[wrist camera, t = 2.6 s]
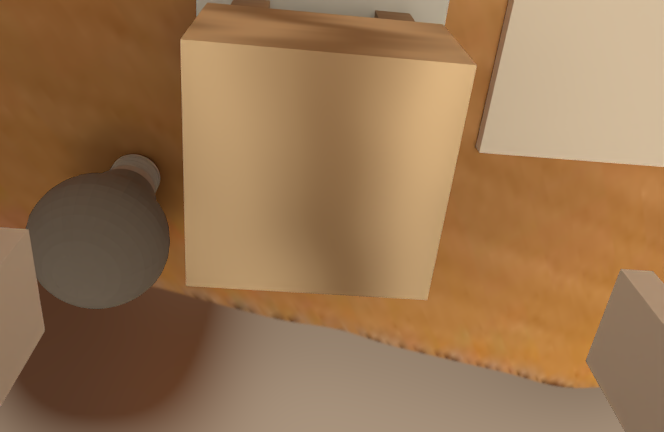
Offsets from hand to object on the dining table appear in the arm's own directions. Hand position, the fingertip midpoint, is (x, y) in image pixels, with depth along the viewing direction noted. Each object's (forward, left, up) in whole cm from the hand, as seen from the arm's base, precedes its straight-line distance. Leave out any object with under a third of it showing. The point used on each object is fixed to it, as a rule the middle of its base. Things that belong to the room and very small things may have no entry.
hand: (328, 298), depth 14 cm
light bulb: (-9, -7, -20) cm, 23 cm away
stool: (0, 0, -14) cm, 14 cm away
